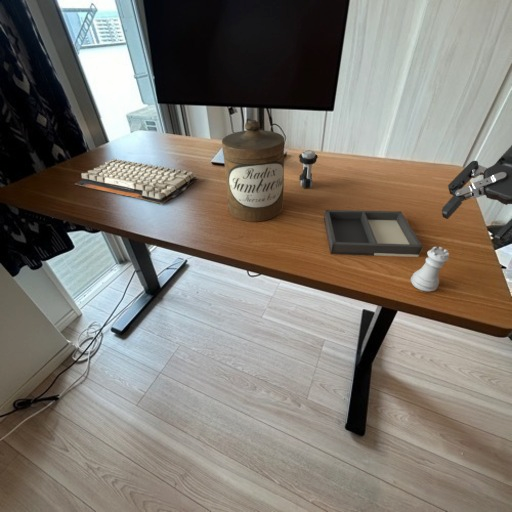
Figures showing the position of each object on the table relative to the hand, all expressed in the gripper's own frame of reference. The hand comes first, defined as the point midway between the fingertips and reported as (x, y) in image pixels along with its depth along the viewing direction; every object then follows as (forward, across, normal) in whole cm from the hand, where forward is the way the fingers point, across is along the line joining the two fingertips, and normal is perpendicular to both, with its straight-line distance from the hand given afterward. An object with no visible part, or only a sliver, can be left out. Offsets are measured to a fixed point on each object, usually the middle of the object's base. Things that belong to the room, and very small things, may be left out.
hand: (468, 227), depth 46 cm
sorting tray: (+10, -16, +5) cm, 20 cm away
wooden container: (+21, -42, -6) cm, 47 cm away
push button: (+6, -46, +9) cm, 47 cm away
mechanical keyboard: (+38, -77, -23) cm, 89 cm away
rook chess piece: (+12, 0, +3) cm, 12 cm away
